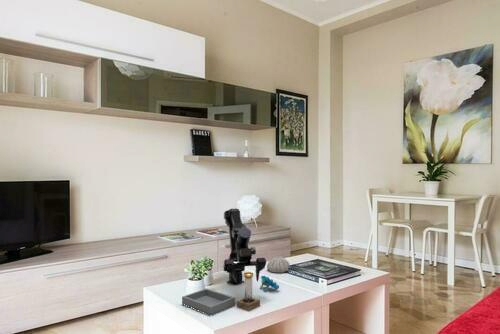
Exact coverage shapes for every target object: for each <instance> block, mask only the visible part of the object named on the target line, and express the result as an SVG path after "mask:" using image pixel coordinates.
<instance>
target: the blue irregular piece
mask: <svg viewBox="0 0 500 334" xmlns="http://www.w3.org/2000/svg"><path fill="white" fill-rule="evenodd" d="M260 279H261V280H260V281H261V284H260V287H259V289H261V290H262V289H263V286H265V288H264V290H263V291H264V292H267V291H268V288H269V287H270V288H272V289H275V290H279V289H280V285H279V284H278V283H277V282H276V281H275V282H274V280H273V278H272V279H271V278H270V277H269V276H265V275H261V276H260Z"/></svg>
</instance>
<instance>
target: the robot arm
mask: <svg viewBox="0 0 500 334" xmlns="http://www.w3.org/2000/svg"><path fill="white" fill-rule="evenodd" d="M223 220H224V221H225V222H224V223H225V224H226V226H227V227H228V234H229V236H228V237H229V243H230V244H229V245H230V254H229V256H228V259H224V261H223V268H222V269H223V272H226V273H228V280H227V281H226V283H227V284H231V285H234V286H235V285H236V286H237V285H239V284H240V285H241V284H242V283H243V284H244V283H245V280H243V272H245V270H246V267H253V266H255V278H256V282H259V280H260V279H259V278H260V272H262V271H263V270H264V269H265V268H266V266H267V265H266V264H267V258H265V257H257V258H256V259H255V260H253V258H252V256H254V255H256V254H257V252H256V251H257V250H256V247H255V246H251V247H249V243H250V240H251V236H252V230H251V229H249V228H248V227H247V226H246V225H245V224H244V223H243V222H242V219H241V210H240V209H239V208H230V209H228V210H225V211H224V212H223ZM251 260H252V261H251Z"/></svg>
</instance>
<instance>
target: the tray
mask: <svg viewBox="0 0 500 334" xmlns="http://www.w3.org/2000/svg"><path fill="white" fill-rule="evenodd" d="M235 302H236V297H235V296H232V295H228V294H225V293H221V292H218V291H217V290H212V289H210V288H204V289H201V290H198V291H195V292H192V293H189V294H186V295H183V296H181V305H182V304H185V305H187V306H189V307H192V308H194V309H196V310H195V311H197V310H199V311H201V312H200V313H202V312H204V313H206V314H205V315H207V314H209V315H212V316H214V314H215V315H217V314H219V313H222V312H223V311H226V310H228V309H229V310H230V309H231V308H233V307H235V306H236V303H235ZM189 307H188V308H189ZM194 309H193V310H194ZM199 311H198V312H199ZM221 311H222V312H221ZM204 313H203V314H204ZM216 313H217V314H216ZM209 315H208V316H209Z"/></svg>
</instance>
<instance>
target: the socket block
mask: <svg viewBox="0 0 500 334" xmlns="http://www.w3.org/2000/svg"><path fill="white" fill-rule="evenodd" d="M259 307H261V300H260V299H257V298H254V297H252V302H251V303H246V302H245V297H243V298H241V299H238V300H237V301H236V308H238V309H241V310H244V311H248V312H251V311H253V310H255V309H258V308H259Z"/></svg>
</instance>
